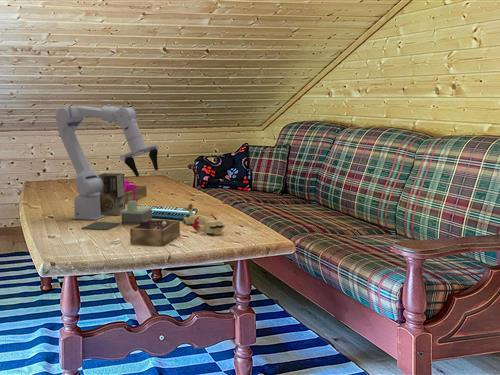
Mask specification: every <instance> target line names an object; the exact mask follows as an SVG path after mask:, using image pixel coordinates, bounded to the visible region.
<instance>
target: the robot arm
mask: <svg viewBox="0 0 500 375" xmlns="http://www.w3.org/2000/svg"><path fill="white" fill-rule="evenodd" d="M137 116H138V114H137V111H136V110H135V109H134V108H131V107H129V106H128V107H123V106H122V105H118V106H113V105H112V104H110V103H109V104H106V105H104V106H102V107H100V108H99V107H94V106H88V105H75V106H66V107H65V106H61V107H59V108H57V110H56V114H55V115H54V119H55V120H56V121H55V122H56V123H57V128H58V134H59V137H60V139H61V142H62V143H63V145H64V148H65V151H66V152H67V155H68V158H69V159H70V161H71V163H72V167H73V168H74V170H75V172H76V176H75V178H74V182H75V186H76V189H75V190H76V192H77V194H79V195H76V196H75V198H74V201H73V206H74V209H73V210H74V217H73V219H74V220H92V221H97V220H100V219H101V218H104V217H106V215H102V214H101V208H100V194H101V191H102V190H103V181H102V180H101V179H100V178H99V177H98V175H99V174H98V173H97V172H96V171H95V170H93V169H91V166H90V164H89V162H88V160H87V158H86V155H85V153H84V151H83V148H82V147H81V144H80V142H79V139H78V137H77V135H76V130H77V129H78V127H79V126H80V124H81V123H82V122H83V120H84V118H87V117H98V118H100V119H101V120H102V121H104V122H110V123H111V122H113V123H117V124H119V125H120V127H121V128H122V131H123V134H124V137H125V138H126V142H127V144H128V147H129V152H126V153H124V154H121V155H120V156H119V158H120V160H121V162H122V161H123V162H124V164H125V165H126V166H128V168H129V169H130V170H131V171H132V172H133V174H134V175H135V177H136V178H137V177H139V176H140V174H139V171H138V169H137V165H136V163H135V157H138V156H141V155H144V154H147V153H148V157H149V158H150V160H151V163H152V165H153V169H154V171H158V170H159V167H158V153H159V152H158V150H159V149H160V148H159V145H158V144H157V143H156V144H151V145H147V146H146V144H145V141H144V138H143V135H142V134H141V133H142V132H141V131H140V128H139V125H138V122H137Z"/></svg>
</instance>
